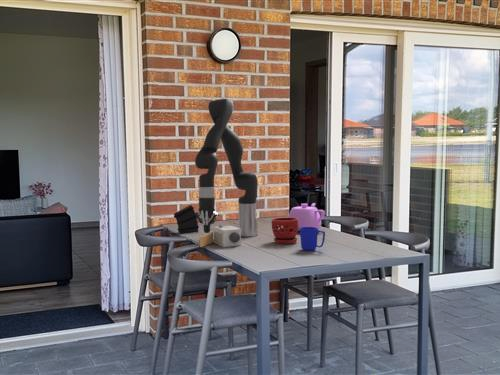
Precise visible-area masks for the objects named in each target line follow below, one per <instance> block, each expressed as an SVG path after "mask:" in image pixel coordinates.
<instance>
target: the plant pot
mask: <svg viewBox="0 0 500 375" xmlns="http://www.w3.org/2000/svg"><path fill="white" fill-rule="evenodd" d="M271 228H272V230H271V231H272V234H273V236H274V238H273V241H274V242H275V243H276V244H281V245H282V244H283V245H284V244H285V245H286V244H287V245H291V244H294V243H296V242H297V241H298V238H297V237H296V236H297V234H298V232H299V231H298V219H297V218H288V217H287V216H286V217H276V218H272V219H271Z"/></svg>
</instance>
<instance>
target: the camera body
mask: <svg viewBox="0 0 500 375" xmlns="http://www.w3.org/2000/svg"><path fill="white" fill-rule="evenodd" d="M213 243H214V244H217V245H219V246H220V247H223V248H225V247H226V248H227V247H238V246H241V245H242V236H241V229H240V228H239V227H236V226H233V225H222V224H219V225H216V226H213Z"/></svg>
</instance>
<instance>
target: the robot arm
mask: <svg viewBox="0 0 500 375" xmlns="http://www.w3.org/2000/svg"><path fill="white" fill-rule="evenodd" d="M233 110H234V107H233V102H232V101H231V99H229V98H219V99H214V100H211V101H209V103H208V113H209V115H210V118H211V120H212V123H213V125H212V127H211V128H210V129H209V130H208V132H206V133H207V134H206V135H205V139H204V142H203V145H202V147H201V148H200V150H199V151H198V153H197V154H196V156H195V160H194V162H195V163H194V164H195V166H196V168H198V169H200V170H207V172H206V173H202V174H199V177H198V184H199V185H198V206H199V208H198V211H197V212H196V211H195V216H196V217H197V221H198V223H199V224H202V225H203V232H204V234H209V233H211V225H212V224H214V223H215V222H216V221H217V219H218V218H219V217H220V213H217V212H216V209H215V203H216V202H215V198H216V197H215V192H216V191H215V175H216V171H217V169H218V168H217V167H218V163H219V160H218V156H217V155H216V154H215V153H217V151H218V149H219V145H220V141H221V143H222V146H223V149H224V152H225V154H226V157H227V160H228V163H229V165H230V166H229V167H230V170H231V173H232V178H233V181H234V184H235V187H236V188H237V189H238V190H241V191H245V192H244V195H243V196H240V197H239V198H238V228H240V229H241V237H255V236H258V229H259V228H258V217H257V198H258V185H259V184H258V183H259V182H258V177H257V175H256V174H255V173H253V172H244V169H243V166H242V159H243V155H244V148H243V144H242V141H241V139H240V136H238V134H237V133H236V132H235V131H233V130H232V129H231V128H230V127H229V126H228V123H229V121H230V119H231V117H232V116H233V112H234V111H233Z"/></svg>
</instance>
